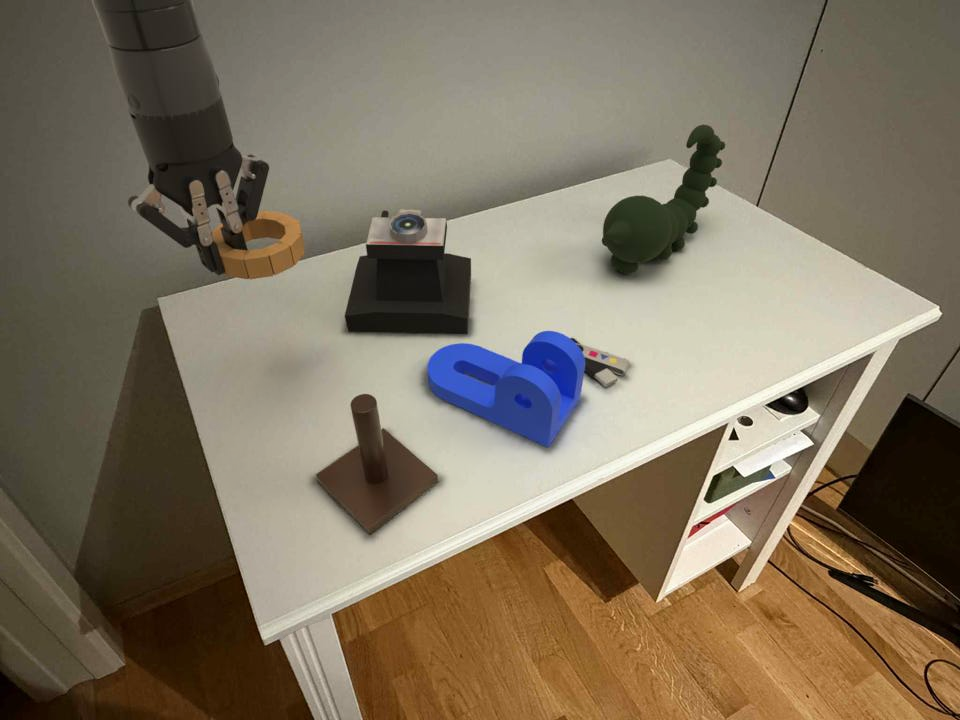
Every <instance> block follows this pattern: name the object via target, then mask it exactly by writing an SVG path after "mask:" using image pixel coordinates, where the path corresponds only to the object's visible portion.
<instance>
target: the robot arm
mask: <svg viewBox="0 0 960 720" xmlns="http://www.w3.org/2000/svg"><path fill="white" fill-rule="evenodd" d="M91 4H92V6H93V9H94V11H95V14H96V16H97V20H98V22H99V24H100V28H101V31H102V33H103V35H104V39H105V41H106V43H107V47H108V51H109V54H110V59H111V65H112V68H113V73H114V76H115V78H116V80H117V84H118V87H119V89H120V92H121V94H122V97H123V101H124V103H125V105H126V108H127V111H128V113H129V116H130V119H131V121H132V125H133V127H134V129H135V133H136V136H137V138H138V141H139V143H140V146H141V149H142V151H143V154H144V157H145V159H146V161H147V164H148V174H147V181H148V186H147V187H146V188H145V189H144V190H143V191H142V192H141V193H140V195H132V196H130V197H128V200H127V204H128V206H129V208H131V209H132V210H133V211H134V212H135V213H137V214H138V216H140V217H141V218H143V219H144V220H146V221H147V222H148V223H150V224H151V225H153V226H154V227H155V228H156V229H158V230H159V231H161V232H162V233H163V234H165V235H166V236H168V237H169V238H171V239H172V240H173V241H174V242H176V243H177V244H179V245H180V246H181V247H183V248H184V249H188V248H191V247H192V246H195V249H196V251H197V253H198V257H199V259H200V262H201V264H202V265H203V266H204V267H205V268H206V269H207V270H208V271H209V272H210V273H215V274H216V275H217V276H221V275H223V274H224V273H225V268H224V265H223V262H222V259H221V256H220V253H219V250H218V246H217V243H216V242H215V241H213V238H212V234H211V232H212V230H211V226H210V223H211V217H210V213H209V209H208V208H210V207H211V206H212V207H213V208H214V211H215V213H216V216H217V219H218V222H219V224H223V227H222V228H220V229H221V232H222V235H223V239H224V241H225V243H226V244H227V245H229V246H230V247H231V248H233V249H239V250H246V251H249V249H248V246H247V242H245V239H244V235H243V231H242V229H243V226H244V225H245V224H246V223H247V222H248V221H253V220H255V219H256V218H257V215H258V212H260V211H259V210H260V206H261V203H262V199H263V196H264V195H263V194H264V191H265V187H266V183H267V179H268V176H269V173H270V165H269V163H268V162H266V161H265V160H262V159H261V158H259V157H257V156H256V155H254V154H248V155H242V153H241V152H240V150H239V149H238V148H237V147H236V145H235V144H234V141H233V140H234V139H233V134H232V133H233V132H232V129H231V125H230V122H229V119H228V115H227V111H226V108H225V103H224V100H223V96H222V93H221V89H220V80H219V76H218V74H217V73H216V69H215V66H214V63H213V60H212V57H211V55H210V52H209V50H208V47H207V44H206V42H205V40H204V37H203V33H202V31H201V26H200V23H199V18H198V15H197V12H196V8H195V5H194V4H195V3H194V1H193V0H91ZM239 176H240V179H239V183H238V187H237V190H236V195H235V194H234V193H235V192H234V189H235V186H236V183H237V180H238V177H239ZM162 196H164V197H165V198H167V199H168V200H170V201H171V202H172V203H174V204H177V205H178V207H179V211H180V213H181V215H182V217H183V218H184V221H185V225H186V227H180V226H178V225H177V224H176V223H174V222H173V221H172V220H170V219H169V218H168V217H167V216H165V215H164V213H165V209H166V207H165V205H164V203H163V202H162Z"/></svg>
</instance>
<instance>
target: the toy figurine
mask: <svg viewBox="0 0 960 720" xmlns="http://www.w3.org/2000/svg"><path fill="white" fill-rule="evenodd" d="M685 144H686V149H691V148H692V147H693V146H694V145H695V149H696V150H695V151H694V152H693V153H692V155H690V158H689V167H688V168H687V170H685V171H684V173H683V175H682V179H681V183H682V184H680V185H679V186H678V187H677V188H676V189H675V192H674V194H673V198H671V199H670V200H668V201H667V202H666V203H661V202H660V201H658V200H656V199H655V198H653V197H650V196H647V195H633V196H628V197H625V198H623V199H621V200H619V201H618V202H616V203H615V204H614V205H613V206H612V207H611V208H610V210H608V212H607V213H606V216H605V218H604V221H603V225H602V238H601V244H602V245H603V246H604V247H606V248H607V249H608V250H609V252H610V253H611V254H612V255H611V257H610V264H611V266H612V267H613V268H614V269H615V270H616V271H618V272H620V273H622V274H625V275H631V274H634V273H635V272H637V271H638V269H639V265H640V264H644V263H646V262H649V261H652V260H653V259H655V258H656V259H659V260H661V261H666V260H668V259H669V258H670V257H671V256H672V254H673V250H674V251H677V252H678V251H682V250H683V249H684V248H685V245H686V240H685V239H684V238H683V237H684V236H685V235H686V234H690V235H693V234H695V233H697V231H698V228H699V224H698V223H697V222H696V221H695V220H696V218H697V212H698V211H699V210H700V209H701V208H702V209H704V208H706V207H708V205H709V204H710V199H709V197H708V196H707V194H706V191H707V190H709V188H714V187H716V185H717V184H718V179H717V178H716V177H713V175H712V173H713V172H714V171H715V169H719V168H720V167H721V166H722V165H723V160H722V159H721V158H720V157H718V155H719V153H720V151H723V150H724V149H726V143H725V141H722V140H721V138H720V137H719V136H718V135H717V134H716V133H715V130H714V128H713V127H712V126H710V125H708V124H700V125H697V126H695V127H694V128H693V130H691V132H690V134H689V136H688V138H687V141H686V143H685Z"/></svg>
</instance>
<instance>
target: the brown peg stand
mask: <svg viewBox="0 0 960 720" xmlns="http://www.w3.org/2000/svg"><path fill="white" fill-rule="evenodd" d="M349 406H350V411H351V415H352V420H353V425H354V430H355V435H356V440H357V444H358V445H357V446H355V447H353V448H352V449H350V451H348V452H346V453H345V454H343V455H342V456H341V457H339V458H338V459H336V460H335V461H333V462H332V463H330V464H329V465H328V466H326V467H325V468H323V469H322V470H320V471H319V472H317V473H316V474H315V477H316V481H317V482H318V484H320V486H322V488H324V490H325V491H327V493H328V494H329V495H330V496H332V498H333V499H334V500H335V501H336V502H337V503H338V504H339V505H340V506H341V507H342V508H343V509H344V510H345V511H346V512H347V513H348V514H349V515H350V516H351V517H352V518H353V519H354V520H355V521H356V522H357V523H358V524H359V525H360V526H361V527H362V528H363V529H364V530H365V531H366V533H368V534H369V535H372V534H374V533H375V532H376V531H377V530H378V529H380V528H381V527H382V526H384V525H385V524H386V523H388V521H391V519H393V518H394V517H395V516H396V515H397V514H399V513H400V512H402V510H404V509H405V508H406V507H407V506H409V505H410V504H411V503H413V502H414V501H415V500H417V499H418V498H419V497H420V496H422V495H423V494H425V492H427V491H428V490H429V489H430V488H432V487H433V486H434V485H435V484H437V483H438V482H439V477H438V474H437V473H436V472H435V471H434V470H433V469H432V468H431V467H429V466H428V465H427V464H426V463H425V462H423V460H421V459H420V458H419V457H418V456H417V455H415V454H414V453H413V452H412V451H410V450H409V449H408V448H407V447H406V446H405V445H404V444H403V443H402V442H400V441H399V440H398V439H397V438H396V437H395V436H393V435H392V434H391V433H390V432H389V431H388V430H386V429H385V428H382V426H381V419H380V415H379V408H378V402H377V399H376V397H375V396H374V395H372V394H369V393H361V394H358V395H356V396H355V397H353V398H352V399H351V401H350V405H349Z"/></svg>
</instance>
